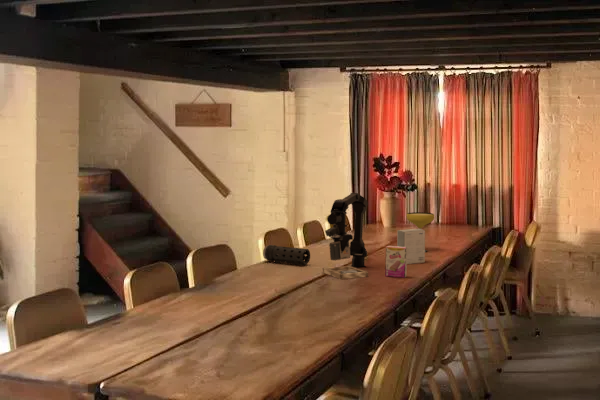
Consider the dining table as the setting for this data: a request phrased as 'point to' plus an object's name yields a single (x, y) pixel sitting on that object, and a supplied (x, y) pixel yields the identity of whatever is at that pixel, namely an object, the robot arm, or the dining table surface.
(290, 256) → the muzzle brake
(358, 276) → the slot rack
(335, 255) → the camera
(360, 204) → the robot arm
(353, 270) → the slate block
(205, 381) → the dining table surface
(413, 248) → the hard drive box
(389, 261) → the candy bar box
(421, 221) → the cocktail glass
